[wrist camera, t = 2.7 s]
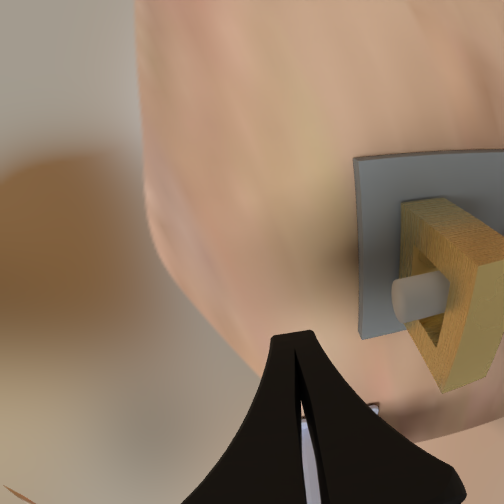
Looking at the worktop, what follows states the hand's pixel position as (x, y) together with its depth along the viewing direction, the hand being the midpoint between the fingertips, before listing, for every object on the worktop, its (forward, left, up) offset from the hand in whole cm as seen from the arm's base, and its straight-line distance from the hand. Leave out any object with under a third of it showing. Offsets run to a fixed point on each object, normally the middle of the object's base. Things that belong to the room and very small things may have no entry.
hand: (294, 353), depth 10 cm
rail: (0, -12, -6) cm, 13 cm away
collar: (0, -7, -5) cm, 8 cm away
